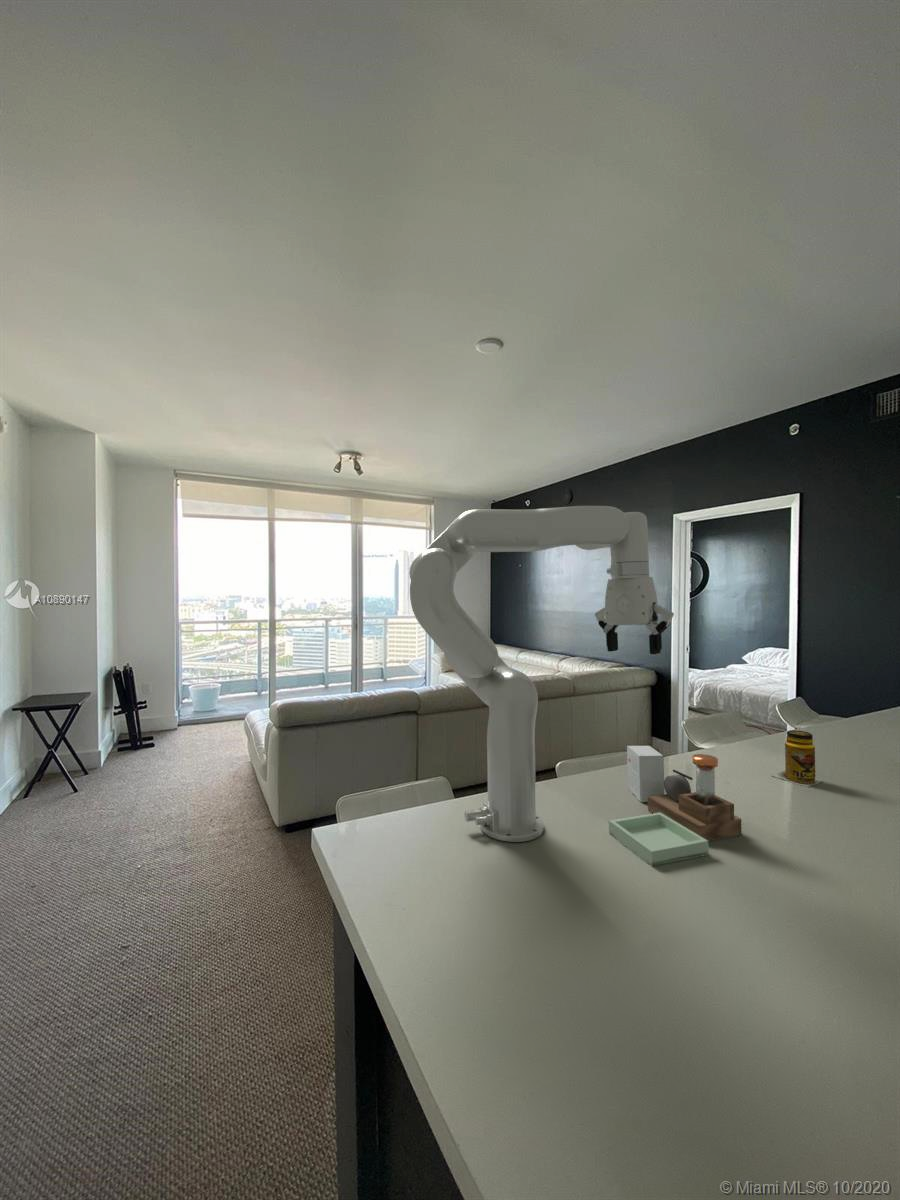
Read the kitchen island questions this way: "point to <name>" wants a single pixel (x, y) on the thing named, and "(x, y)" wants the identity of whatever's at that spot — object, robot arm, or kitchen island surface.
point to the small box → (645, 772)
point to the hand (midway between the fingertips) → (633, 652)
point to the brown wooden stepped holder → (695, 810)
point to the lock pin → (705, 778)
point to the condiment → (799, 759)
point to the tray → (658, 838)
